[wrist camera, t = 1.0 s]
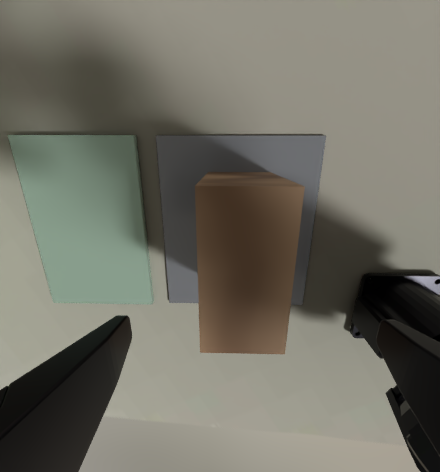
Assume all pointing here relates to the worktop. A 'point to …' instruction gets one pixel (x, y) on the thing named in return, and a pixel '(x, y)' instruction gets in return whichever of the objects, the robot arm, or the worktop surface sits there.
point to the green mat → (87, 215)
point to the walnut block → (246, 260)
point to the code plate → (229, 160)
